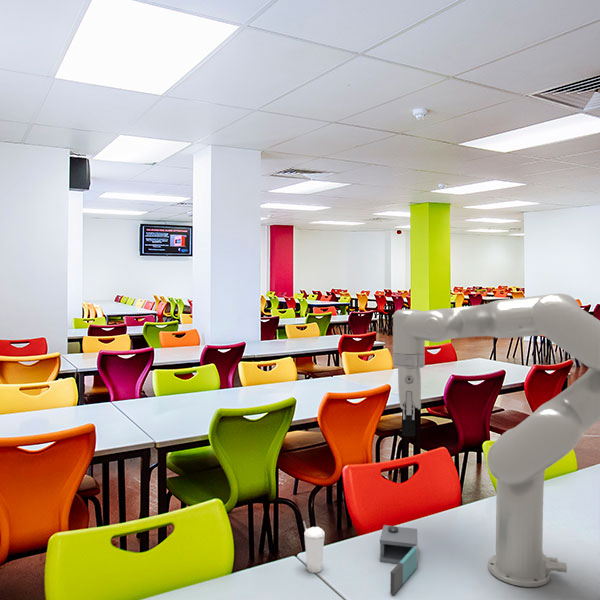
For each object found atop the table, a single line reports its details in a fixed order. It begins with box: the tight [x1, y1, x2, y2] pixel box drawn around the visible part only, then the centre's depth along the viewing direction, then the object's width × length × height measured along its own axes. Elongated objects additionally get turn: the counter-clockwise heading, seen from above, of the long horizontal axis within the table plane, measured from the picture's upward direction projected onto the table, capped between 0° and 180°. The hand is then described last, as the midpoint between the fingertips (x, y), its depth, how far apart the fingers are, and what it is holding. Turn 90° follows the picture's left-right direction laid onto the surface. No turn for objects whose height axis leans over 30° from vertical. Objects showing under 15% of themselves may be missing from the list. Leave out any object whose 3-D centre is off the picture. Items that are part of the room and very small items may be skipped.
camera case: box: [379, 524, 418, 565], centre depth 128 cm, size 8×8×6 cm
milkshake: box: [302, 520, 326, 574], centre depth 122 cm, size 4×5×10 cm
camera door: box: [389, 545, 419, 595], centre depth 117 cm, size 14×1×4 cm, turn 147°
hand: (408, 435), depth 134 cm, fingers closed
